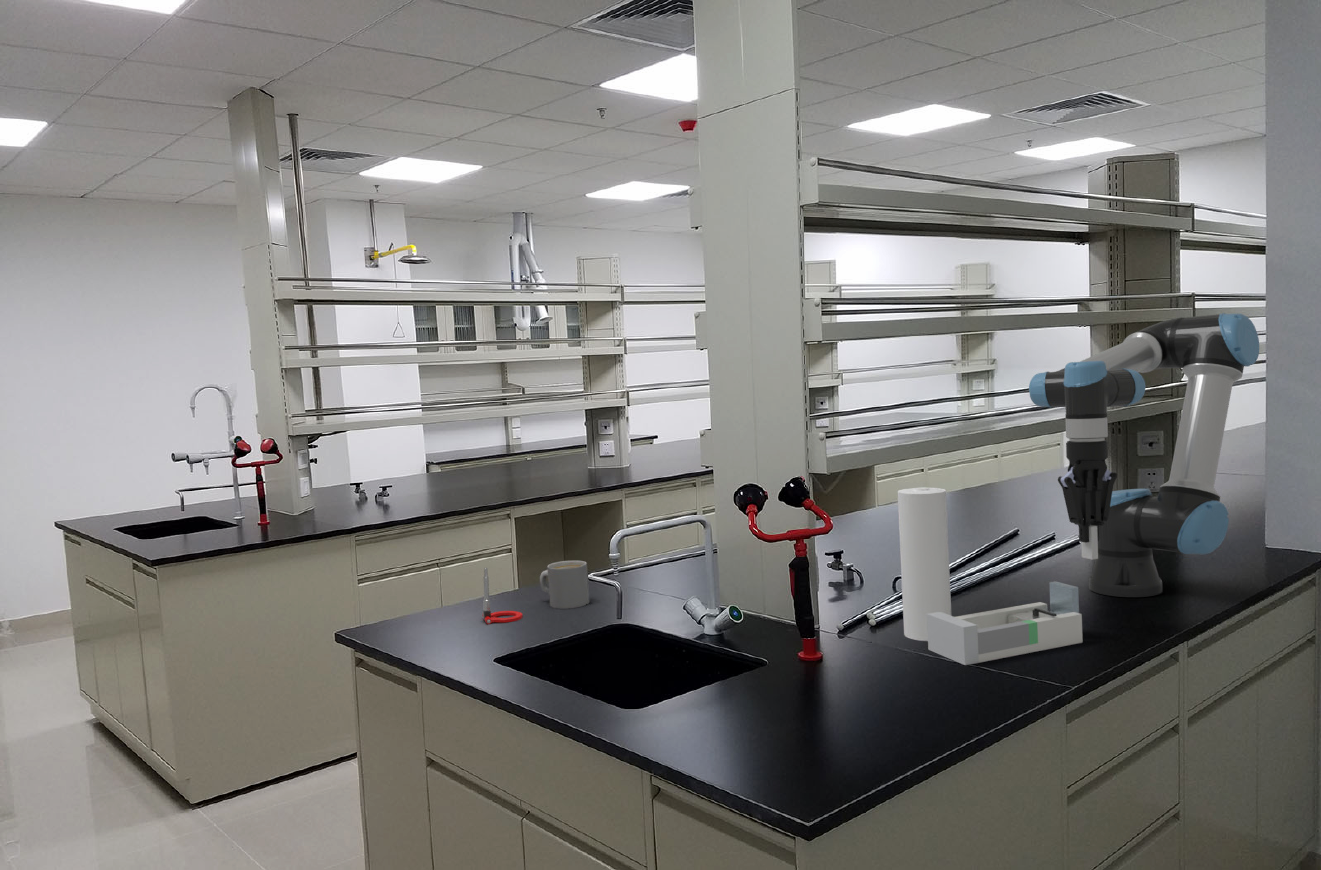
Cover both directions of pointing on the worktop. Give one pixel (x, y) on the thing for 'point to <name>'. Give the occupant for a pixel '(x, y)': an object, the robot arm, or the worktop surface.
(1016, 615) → the plunger
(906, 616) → the cylinder container
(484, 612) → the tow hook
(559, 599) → the coffee mug
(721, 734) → the worktop surface
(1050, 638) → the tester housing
